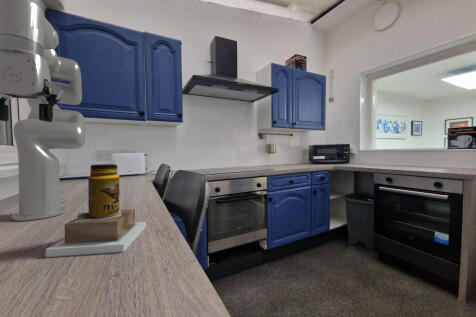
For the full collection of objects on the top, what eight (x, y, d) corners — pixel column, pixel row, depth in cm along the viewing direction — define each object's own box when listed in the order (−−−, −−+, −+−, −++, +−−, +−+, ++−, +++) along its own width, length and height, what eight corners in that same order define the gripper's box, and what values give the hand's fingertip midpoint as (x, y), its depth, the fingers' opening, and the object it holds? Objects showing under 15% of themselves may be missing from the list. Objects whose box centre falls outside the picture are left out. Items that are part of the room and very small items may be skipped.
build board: (89, 230, 52) (89, 224, 52) (145, 227, 54) (145, 221, 54) (45, 257, 38) (45, 248, 38) (123, 251, 40) (123, 244, 40)
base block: (93, 226, 50) (93, 210, 50) (135, 224, 51) (134, 209, 51) (64, 243, 40) (64, 224, 40) (117, 240, 41) (117, 221, 41)
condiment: (121, 216, 45) (121, 164, 45) (74, 223, 40) (73, 165, 40) (120, 209, 51) (120, 163, 51) (78, 214, 46) (78, 164, 46)
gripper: (-39, 38, 43) (-38, 116, 43) (50, 45, 46) (51, 118, 46) (-3, 56, 51) (-2, 122, 51) (72, 61, 53) (73, 124, 53)
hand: (23, 120), depth 48 cm, fingers open, 9 cm apart
